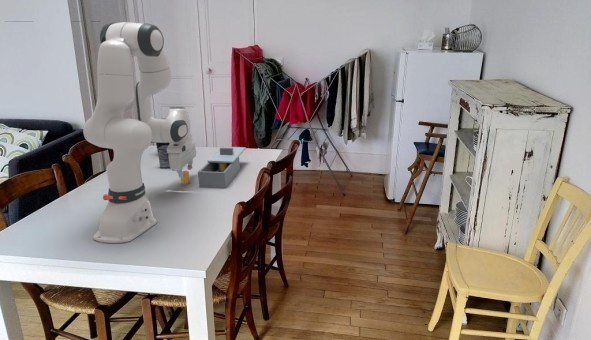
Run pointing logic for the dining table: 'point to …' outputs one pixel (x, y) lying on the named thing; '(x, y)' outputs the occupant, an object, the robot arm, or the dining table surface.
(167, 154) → the small box
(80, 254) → the dining table surface
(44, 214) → the dining table surface
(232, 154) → the lid
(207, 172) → the block
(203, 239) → the dining table surface
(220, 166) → the seated jaw
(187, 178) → the peg
